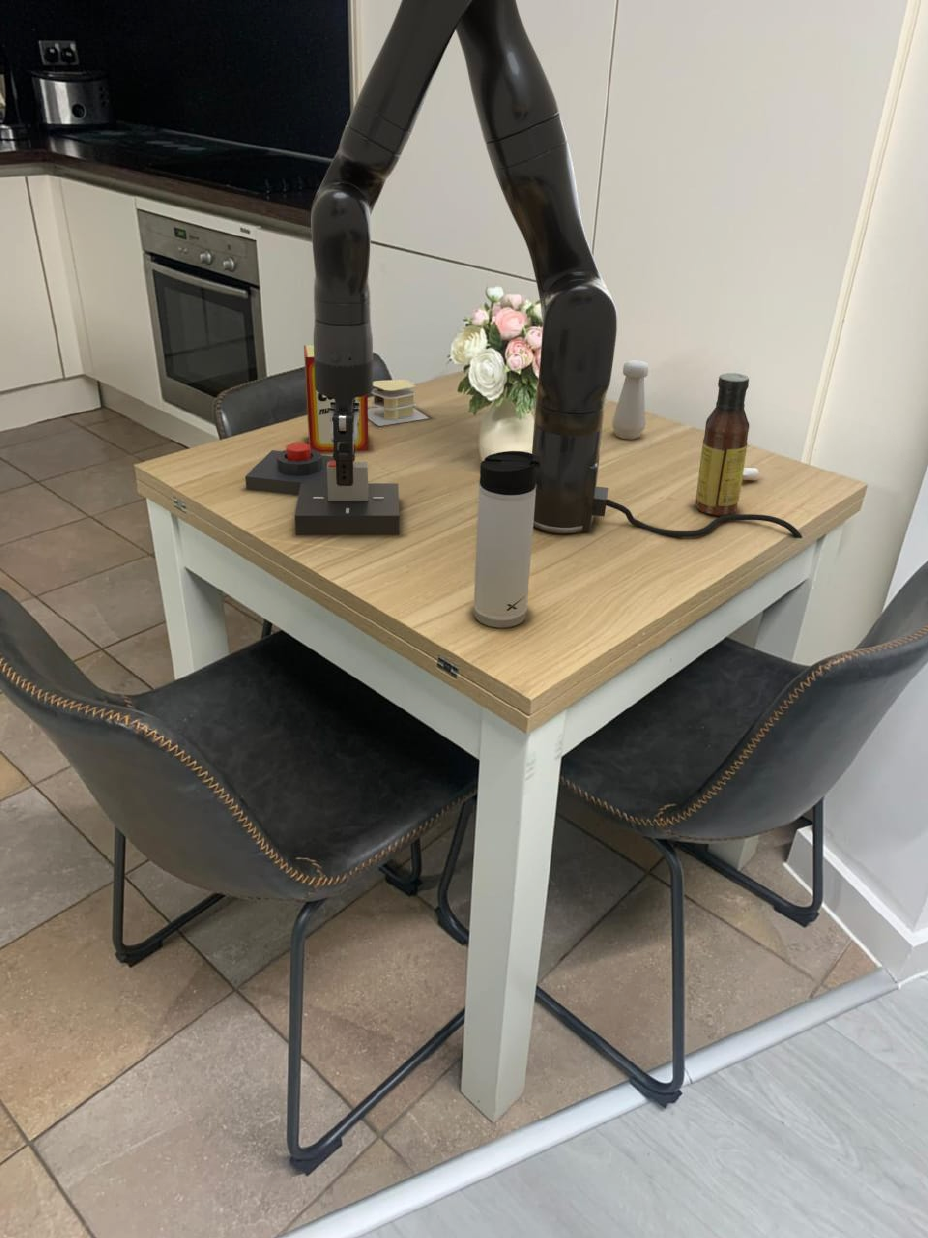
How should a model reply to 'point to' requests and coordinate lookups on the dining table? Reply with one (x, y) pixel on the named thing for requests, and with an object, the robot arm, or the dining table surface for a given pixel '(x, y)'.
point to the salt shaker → (631, 402)
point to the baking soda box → (320, 412)
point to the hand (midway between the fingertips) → (346, 472)
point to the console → (347, 511)
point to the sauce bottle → (724, 449)
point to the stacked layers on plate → (393, 403)
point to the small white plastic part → (750, 474)
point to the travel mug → (504, 537)
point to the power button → (298, 452)
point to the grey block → (348, 492)
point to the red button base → (287, 472)
